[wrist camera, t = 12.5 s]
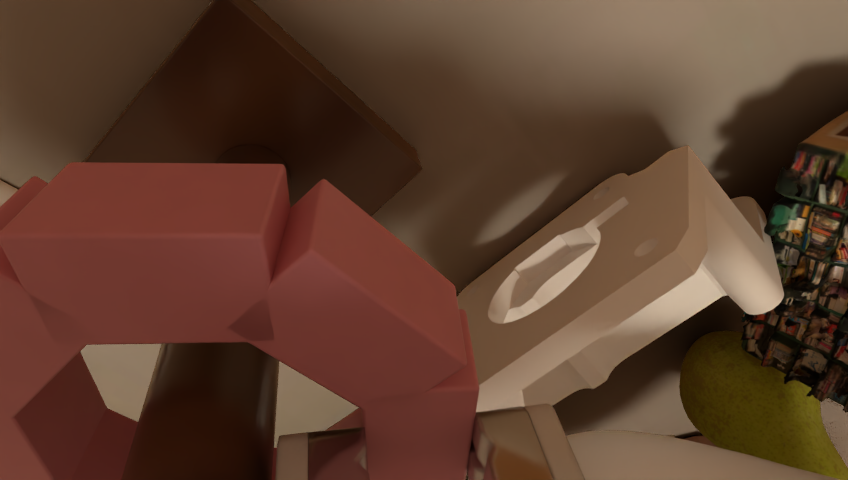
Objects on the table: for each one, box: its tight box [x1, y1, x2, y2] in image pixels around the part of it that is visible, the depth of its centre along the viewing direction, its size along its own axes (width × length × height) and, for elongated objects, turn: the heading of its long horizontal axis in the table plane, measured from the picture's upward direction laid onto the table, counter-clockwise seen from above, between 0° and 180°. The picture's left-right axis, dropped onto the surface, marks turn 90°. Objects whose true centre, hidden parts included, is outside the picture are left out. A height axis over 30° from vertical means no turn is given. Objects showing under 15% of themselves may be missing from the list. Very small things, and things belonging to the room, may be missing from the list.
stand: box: [83, 0, 422, 480], centre depth 14 cm, size 8×8×14 cm
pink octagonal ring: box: [0, 162, 480, 480], centre depth 10 cm, size 10×10×2 cm
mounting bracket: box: [457, 145, 784, 412], centre depth 20 cm, size 12×6×11 cm, turn 132°
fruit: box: [679, 331, 848, 480], centre depth 25 cm, size 6×6×12 cm
